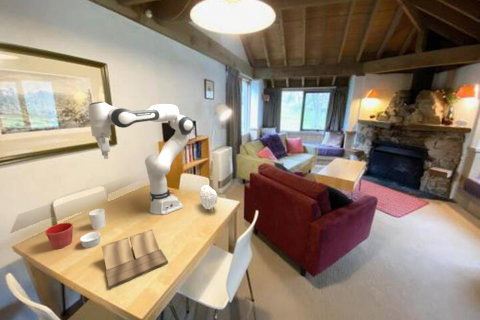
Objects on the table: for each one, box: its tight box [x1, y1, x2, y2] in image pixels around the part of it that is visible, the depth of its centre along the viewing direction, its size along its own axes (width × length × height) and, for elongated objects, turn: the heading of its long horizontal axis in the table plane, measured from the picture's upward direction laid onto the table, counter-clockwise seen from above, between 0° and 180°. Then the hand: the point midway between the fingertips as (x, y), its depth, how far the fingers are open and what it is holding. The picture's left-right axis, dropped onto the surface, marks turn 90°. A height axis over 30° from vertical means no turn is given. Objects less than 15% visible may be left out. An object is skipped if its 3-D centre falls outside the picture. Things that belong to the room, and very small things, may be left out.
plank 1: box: [101, 237, 135, 271], centre depth 99 cm, size 11×12×2 cm
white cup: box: [88, 208, 107, 230], centre depth 125 cm, size 8×8×10 cm
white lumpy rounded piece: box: [199, 184, 218, 212], centre depth 150 cm, size 18×11×17 cm, turn 32°
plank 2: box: [129, 229, 160, 260], centre depth 106 cm, size 11×12×2 cm
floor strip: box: [105, 248, 169, 290], centre depth 96 cm, size 24×11×2 cm, turn 129°
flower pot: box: [44, 222, 74, 250], centre depth 109 cm, size 11×11×10 cm
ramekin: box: [79, 231, 101, 249], centre depth 111 cm, size 9×9×4 cm
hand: (105, 157), depth 117 cm, fingers open, 8 cm apart
